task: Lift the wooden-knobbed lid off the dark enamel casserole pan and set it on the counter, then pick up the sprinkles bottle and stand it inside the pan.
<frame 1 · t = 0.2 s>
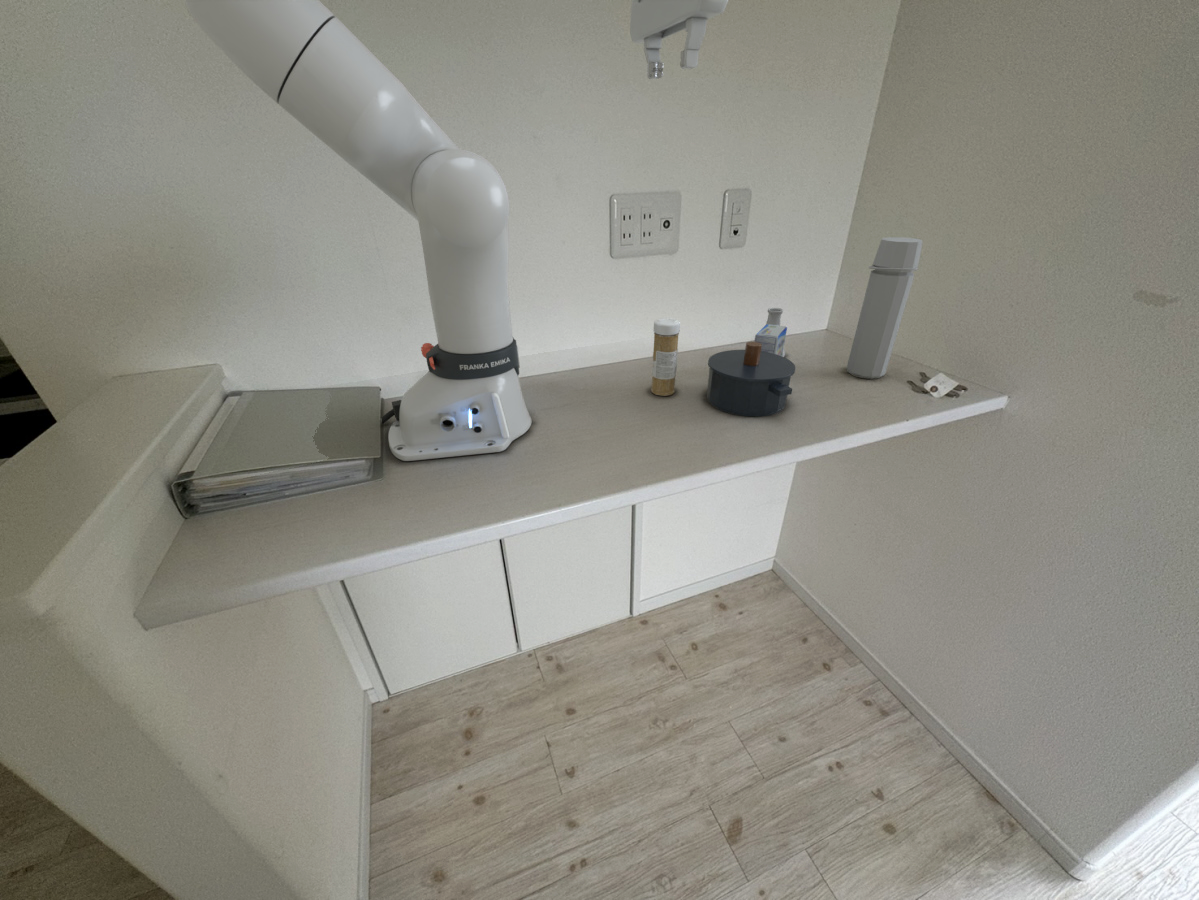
hand: (670, 73, 67), 48 cm above the worktop, tool pointing down, fingers open, 8 cm apart
sprinkles bottle: (662, 393, 93), on the worktop
pan: (745, 399, 89), on the worktop
water bottle: (863, 372, 100), on the worktop
medicine box: (764, 372, 101), on the worktop
flask: (767, 355, 110), on the worktop
pan lid: (750, 366, 86), point 6 cm above the worktop, touching pan
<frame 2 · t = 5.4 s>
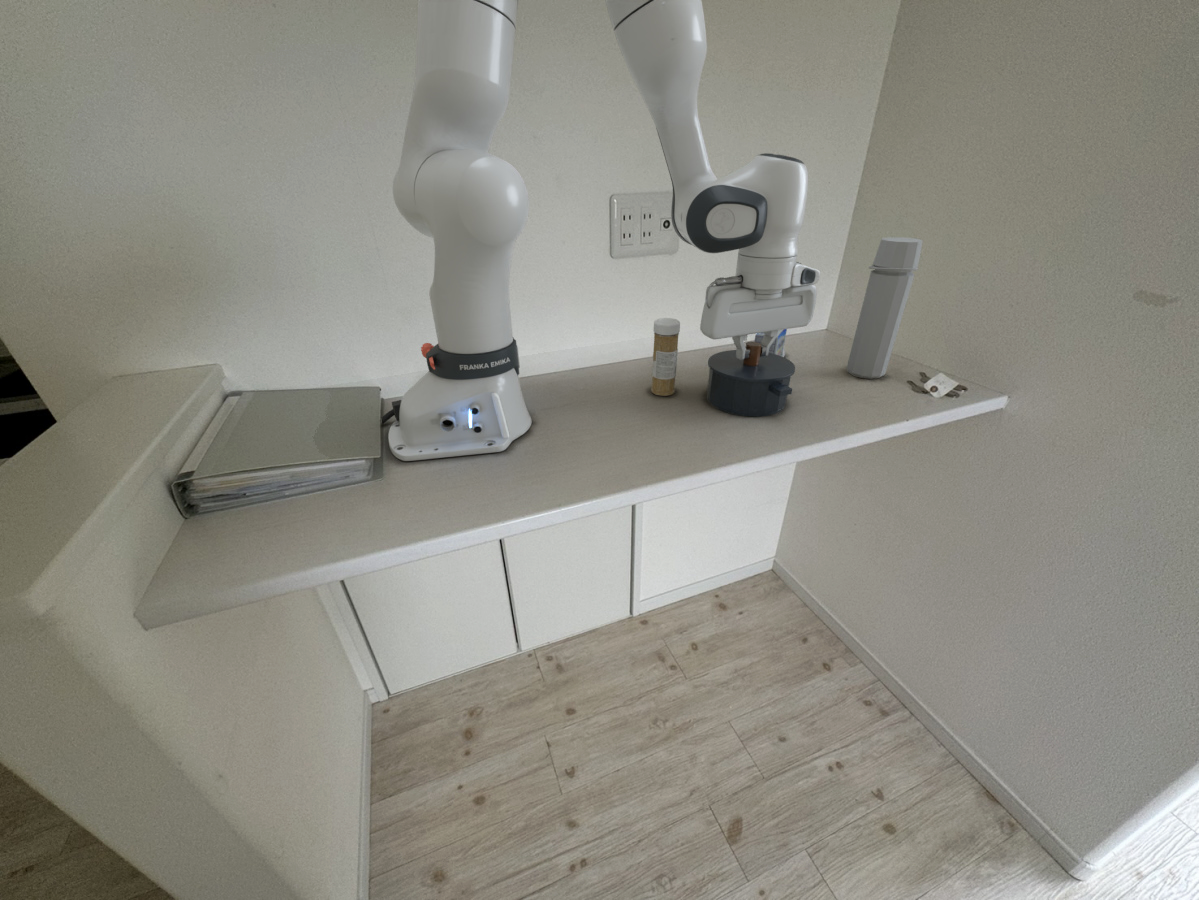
hand: (751, 356, 85), 8 cm above the worktop, tool pointing down, fingers closed on pan lid, 2 cm apart
pan lid: (750, 366, 86), point 6 cm above the worktop, touching gripper, pan
everything else where it was.
when the fingers open (2 cm above the worktop, at t = 12.5 s): pan lid stays where it is, point 1 cm above the worktop.
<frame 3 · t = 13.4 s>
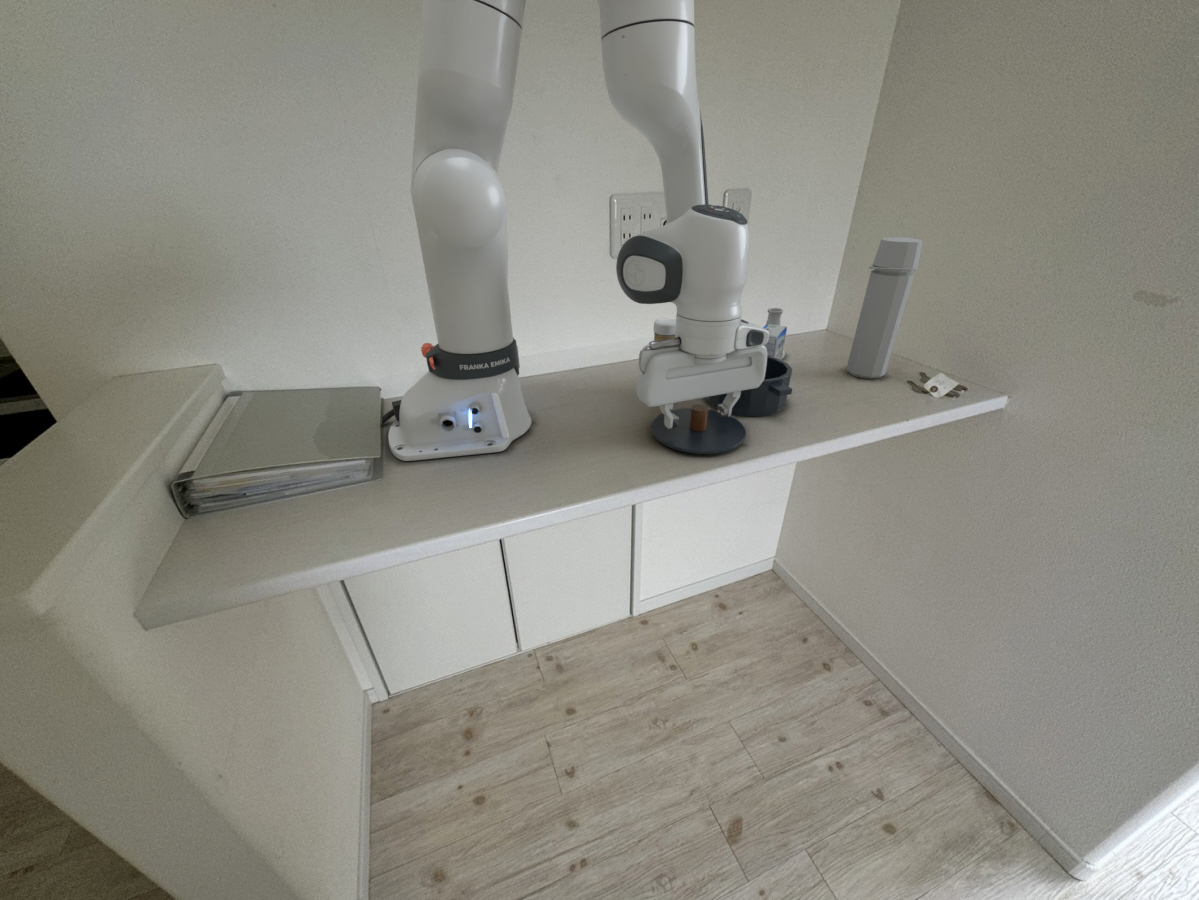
hand: (697, 421, 77), 3 cm above the worktop, tool pointing down, fingers open, 8 cm apart
pan lid: (697, 430, 78), point 1 cm above the worktop
everything else where it was.
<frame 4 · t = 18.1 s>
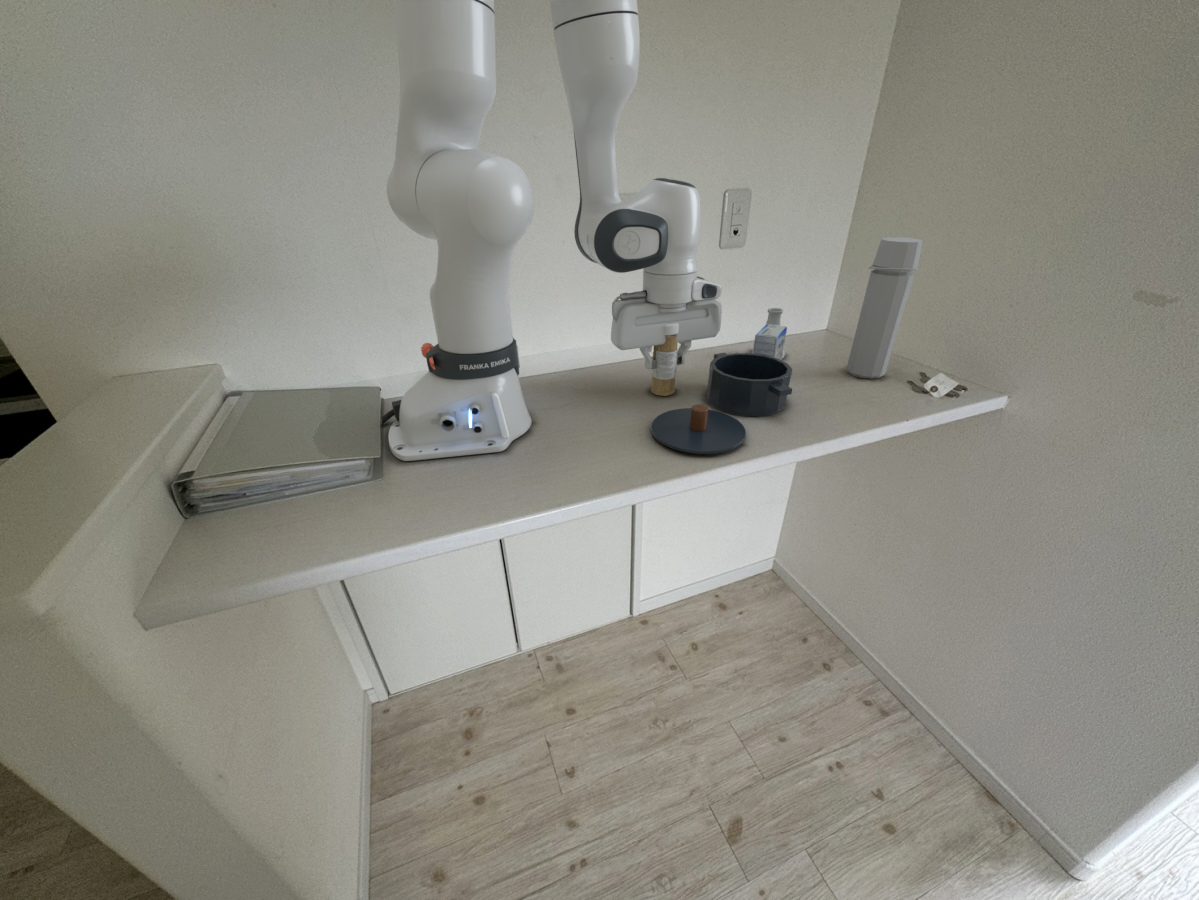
hand: (664, 366, 90), 5 cm above the worktop, tool pointing down, fingers closed on sprinkles bottle, 4 cm apart
sprinkles bottle: (662, 393, 93), on the worktop, touching gripper
everything else where it was.
when the fingers open (5 cm above the worktop, at t = 25.7 s): sprinkles bottle stays where it is, resting on pan.
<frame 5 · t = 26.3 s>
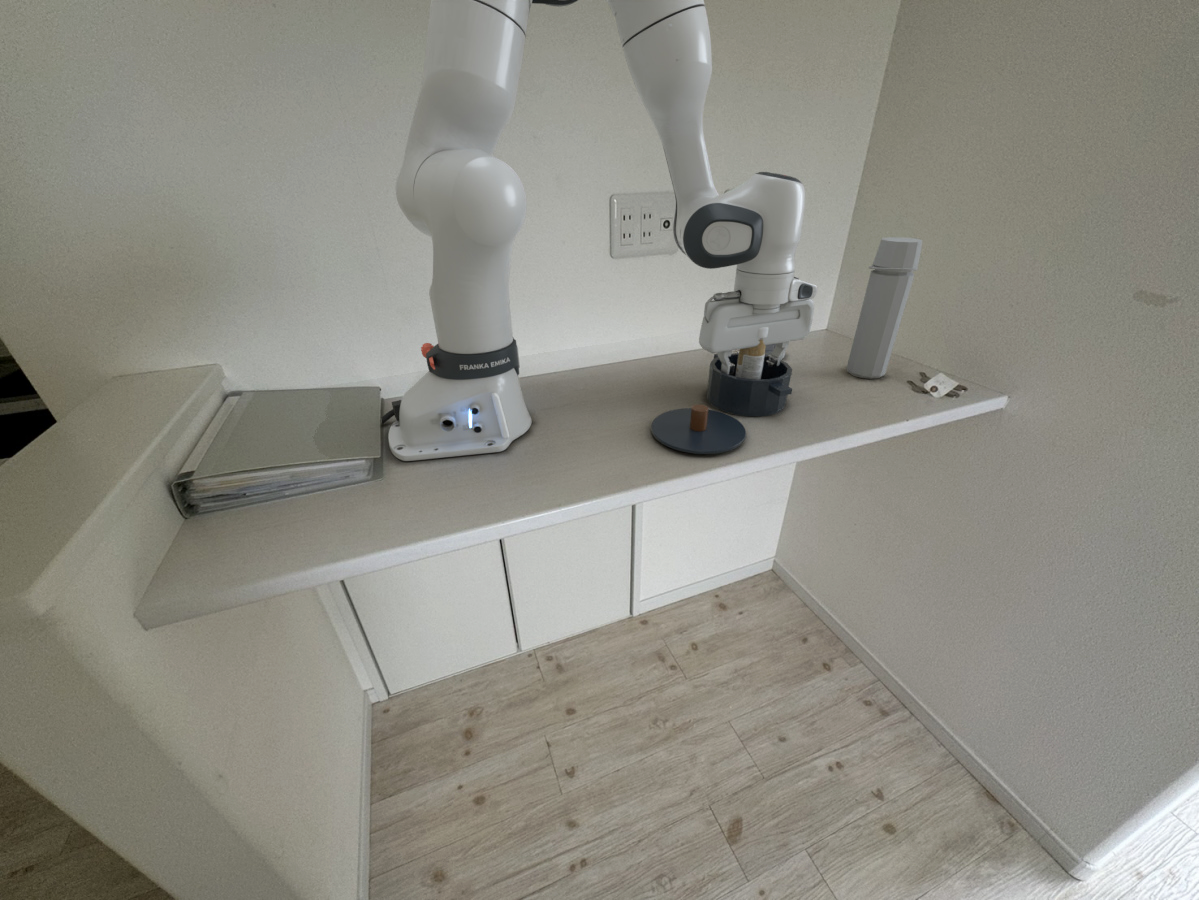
hand: (750, 369, 86), 6 cm above the worktop, tool pointing down, fingers open, 8 cm apart
sprinkles bottle: (745, 398, 89), resting on pan
everything else where it was.
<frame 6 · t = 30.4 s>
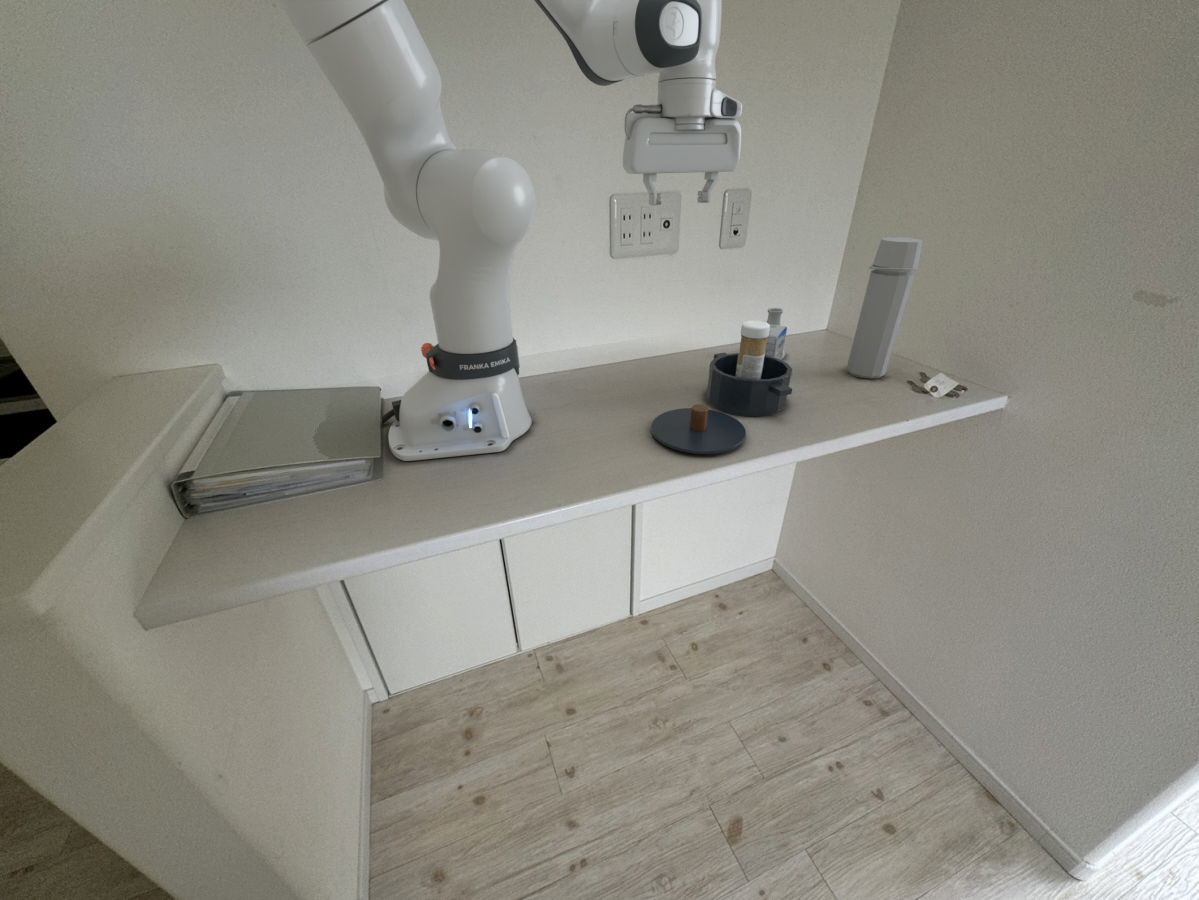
hand: (679, 203, 84), 31 cm above the worktop, tool pointing down, fingers open, 8 cm apart
nothing on the worktop moved.
at the end: pan lid inside the target area (0.4 cm from its centre), point 0.6 cm above the worktop; sprinkles bottle inside the target area in the pan (0.2 cm from its centre), point 0.3 cm above the pan's base; sprinkles bottle tilted 0° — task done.
